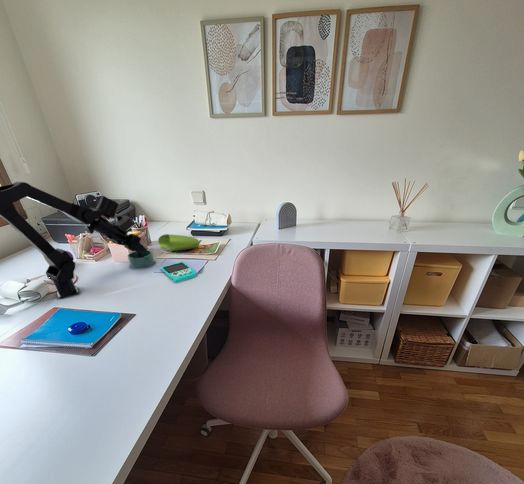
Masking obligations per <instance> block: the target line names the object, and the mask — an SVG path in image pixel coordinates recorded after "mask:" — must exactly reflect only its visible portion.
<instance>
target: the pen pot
mask: <svg viewBox="0 0 524 484" xmlns="http://www.w3.org/2000/svg"><path fill="white" fill-rule="evenodd" d="M153 254H154V253H153V251H152V250H150V249H147V251H146V252H143V255H144V257H141V258H138V257H137V254H136V251H130V253H128V254H127V260H128V263H129V266H130V268H132V269H138V270H139V269H140V270H141V269H146V268H149V267H152V266H153V265H154V264H155V259H154V255H153Z"/></svg>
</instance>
